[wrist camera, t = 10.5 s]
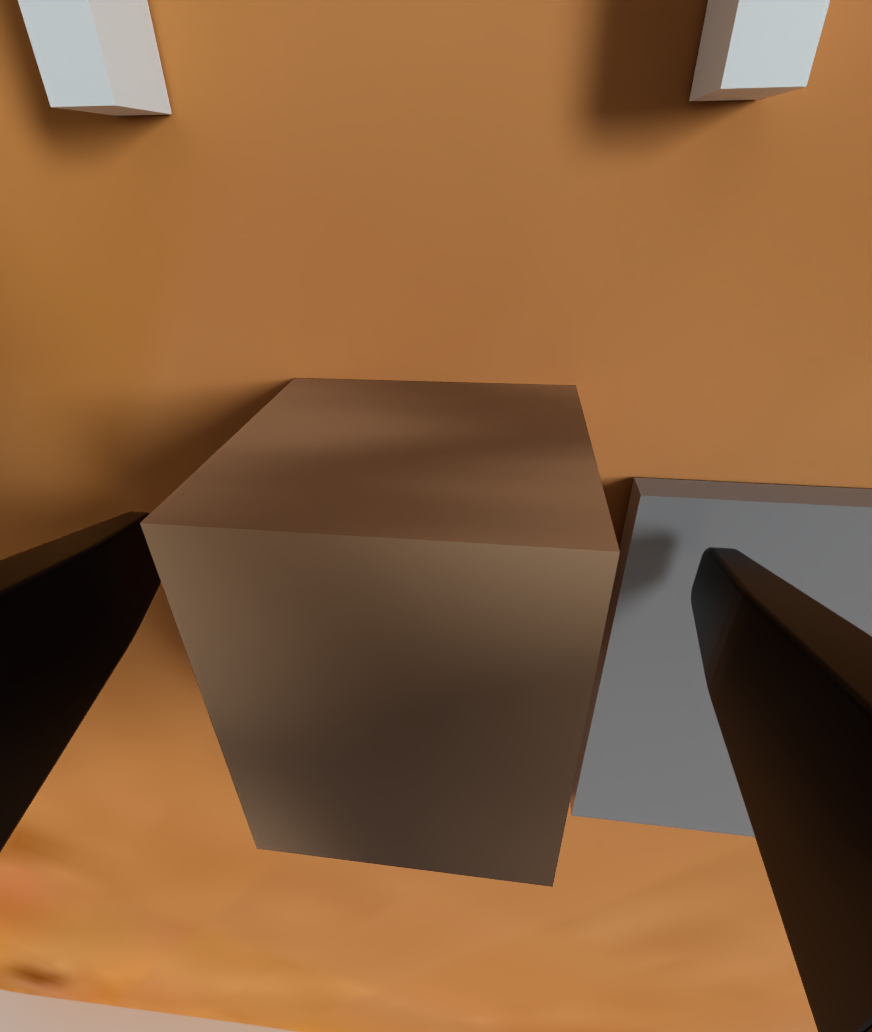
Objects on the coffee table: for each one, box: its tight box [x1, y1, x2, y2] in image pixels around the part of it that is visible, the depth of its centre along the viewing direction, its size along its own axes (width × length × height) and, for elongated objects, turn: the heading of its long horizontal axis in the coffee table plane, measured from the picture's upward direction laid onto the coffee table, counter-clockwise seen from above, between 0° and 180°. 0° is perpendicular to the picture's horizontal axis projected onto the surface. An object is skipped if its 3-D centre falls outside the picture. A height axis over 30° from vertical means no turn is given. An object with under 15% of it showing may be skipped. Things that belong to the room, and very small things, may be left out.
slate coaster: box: [570, 477, 872, 837], centre depth 11 cm, size 9×9×1 cm
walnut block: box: [140, 378, 620, 887], centre depth 9 cm, size 4×6×4 cm
